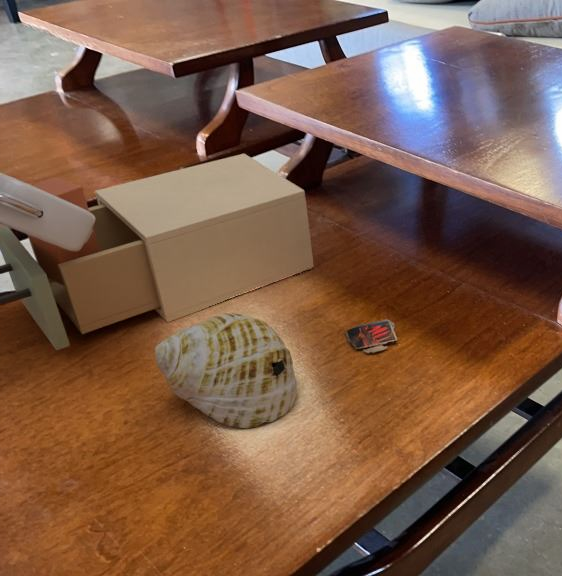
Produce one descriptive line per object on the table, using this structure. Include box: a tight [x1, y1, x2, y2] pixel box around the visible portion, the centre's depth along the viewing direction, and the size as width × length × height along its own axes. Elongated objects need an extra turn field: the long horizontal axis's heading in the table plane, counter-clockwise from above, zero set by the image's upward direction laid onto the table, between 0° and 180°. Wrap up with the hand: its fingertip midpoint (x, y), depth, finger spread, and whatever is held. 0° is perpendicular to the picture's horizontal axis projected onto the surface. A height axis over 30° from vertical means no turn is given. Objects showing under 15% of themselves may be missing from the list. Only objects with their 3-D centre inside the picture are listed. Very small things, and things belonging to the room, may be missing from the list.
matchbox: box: [345, 318, 398, 354], centre depth 74 cm, size 5×5×1 cm
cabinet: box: [94, 153, 315, 323], centre depth 82 cm, size 17×14×10 cm
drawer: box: [0, 204, 161, 351], centre depth 74 cm, size 20×12×8 cm, turn 133°
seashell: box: [154, 312, 298, 429], centre depth 64 cm, size 10×10×10 cm
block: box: [29, 176, 100, 286], centre depth 71 cm, size 4×4×9 cm
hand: (67, 227), depth 72 cm, fingers closed on block, 4 cm apart
